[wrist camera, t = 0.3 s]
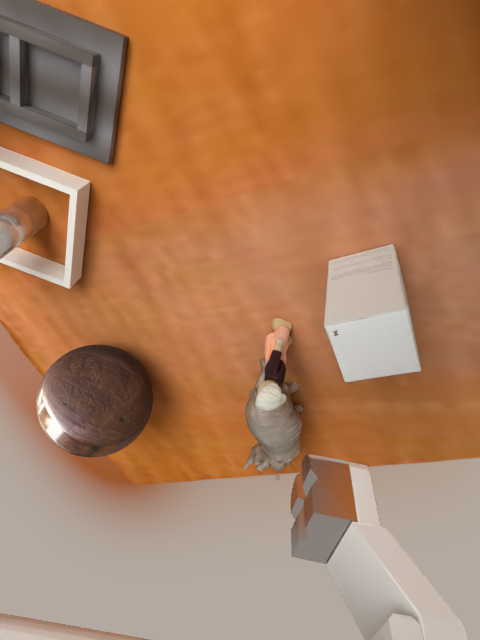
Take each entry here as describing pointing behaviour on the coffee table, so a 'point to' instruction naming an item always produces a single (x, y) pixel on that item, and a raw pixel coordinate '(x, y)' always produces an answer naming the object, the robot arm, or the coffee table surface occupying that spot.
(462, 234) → the coffee table surface
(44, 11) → the tray
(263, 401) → the grandmother figurine
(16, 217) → the ball
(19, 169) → the white square frame
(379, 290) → the supplement box
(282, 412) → the rhinoceros figurine
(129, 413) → the brown metallic sphere
